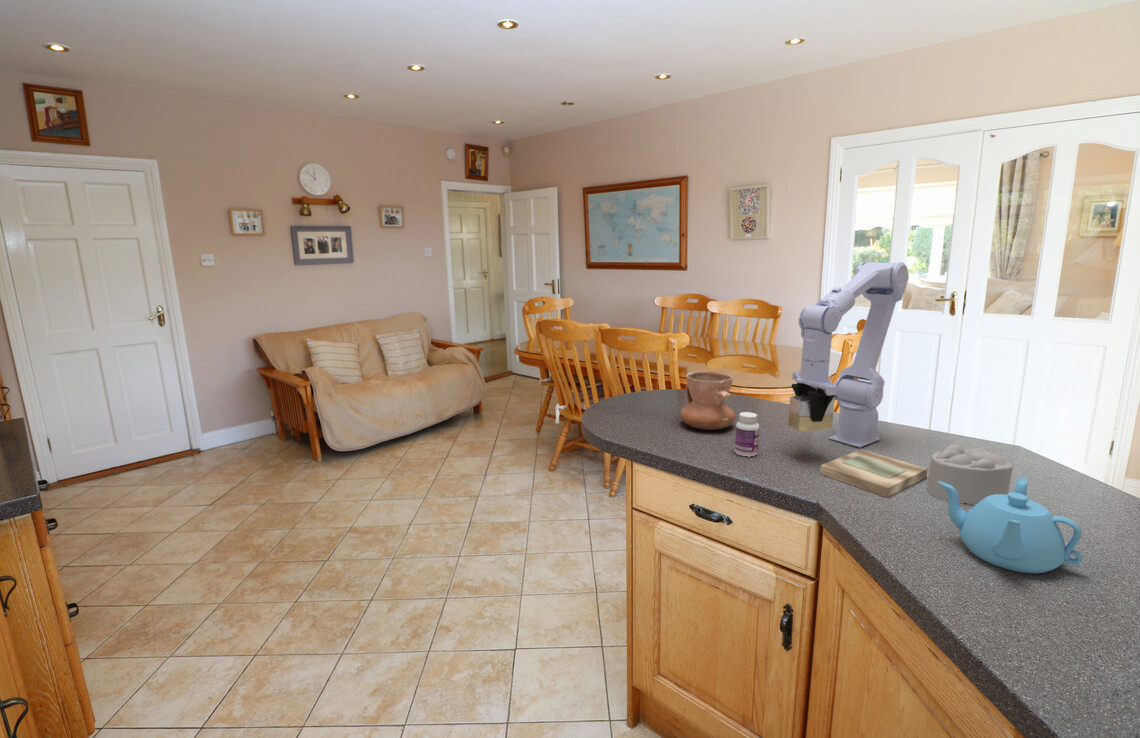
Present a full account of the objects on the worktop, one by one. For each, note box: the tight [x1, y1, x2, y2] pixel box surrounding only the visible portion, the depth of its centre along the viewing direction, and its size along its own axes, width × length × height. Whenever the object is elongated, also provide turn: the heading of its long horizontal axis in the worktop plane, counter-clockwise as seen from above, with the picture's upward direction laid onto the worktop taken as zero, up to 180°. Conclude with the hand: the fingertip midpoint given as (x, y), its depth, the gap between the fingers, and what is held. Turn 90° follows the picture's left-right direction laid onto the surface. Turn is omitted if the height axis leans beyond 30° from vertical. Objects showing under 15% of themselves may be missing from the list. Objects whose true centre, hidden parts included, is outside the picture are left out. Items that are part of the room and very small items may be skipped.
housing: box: [788, 395, 835, 432], centre depth 124 cm, size 8×4×7 cm, turn 98°
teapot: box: [937, 476, 1084, 575], centre depth 85 cm, size 15×15×10 cm
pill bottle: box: [734, 411, 760, 458], centre depth 129 cm, size 5×5×10 cm
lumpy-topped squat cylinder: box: [926, 444, 1013, 505], centre depth 107 cm, size 10×13×9 cm
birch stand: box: [819, 448, 928, 499], centre depth 116 cm, size 16×14×2 cm
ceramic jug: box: [680, 370, 736, 431], centre depth 149 cm, size 18×14×14 cm
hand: (810, 417), depth 125 cm, fingers closed on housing, 4 cm apart
